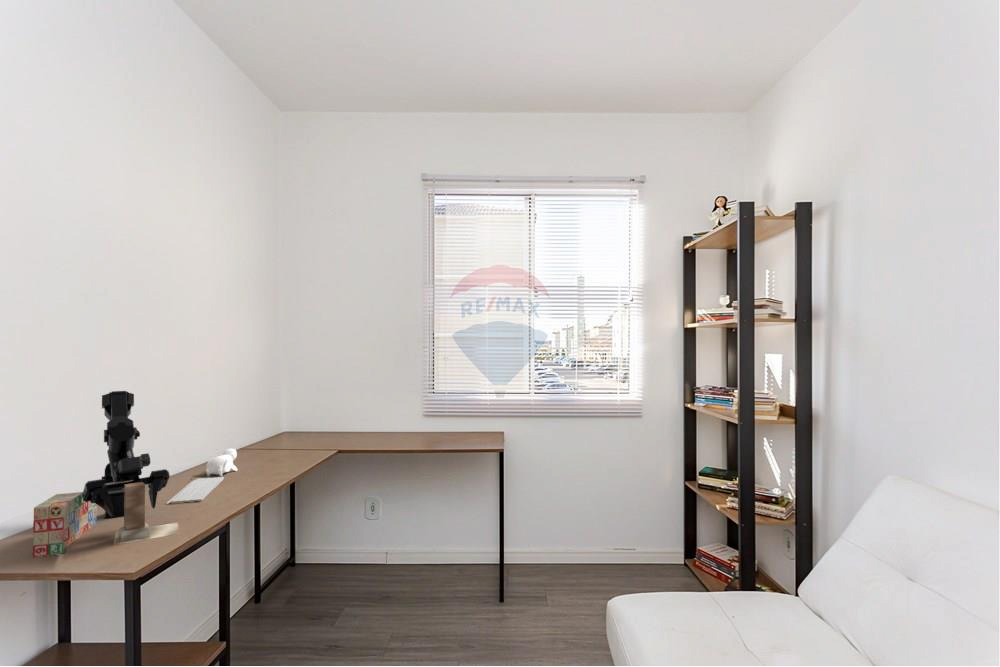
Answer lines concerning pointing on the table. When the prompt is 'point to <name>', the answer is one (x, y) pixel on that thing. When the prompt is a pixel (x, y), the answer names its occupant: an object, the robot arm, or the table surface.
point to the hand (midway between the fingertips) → (133, 511)
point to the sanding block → (134, 513)
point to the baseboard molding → (196, 490)
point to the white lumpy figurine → (222, 463)
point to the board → (154, 532)
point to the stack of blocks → (61, 522)
